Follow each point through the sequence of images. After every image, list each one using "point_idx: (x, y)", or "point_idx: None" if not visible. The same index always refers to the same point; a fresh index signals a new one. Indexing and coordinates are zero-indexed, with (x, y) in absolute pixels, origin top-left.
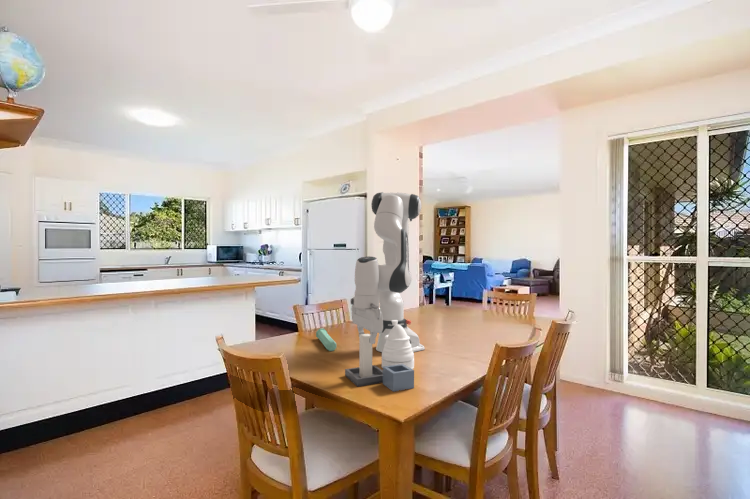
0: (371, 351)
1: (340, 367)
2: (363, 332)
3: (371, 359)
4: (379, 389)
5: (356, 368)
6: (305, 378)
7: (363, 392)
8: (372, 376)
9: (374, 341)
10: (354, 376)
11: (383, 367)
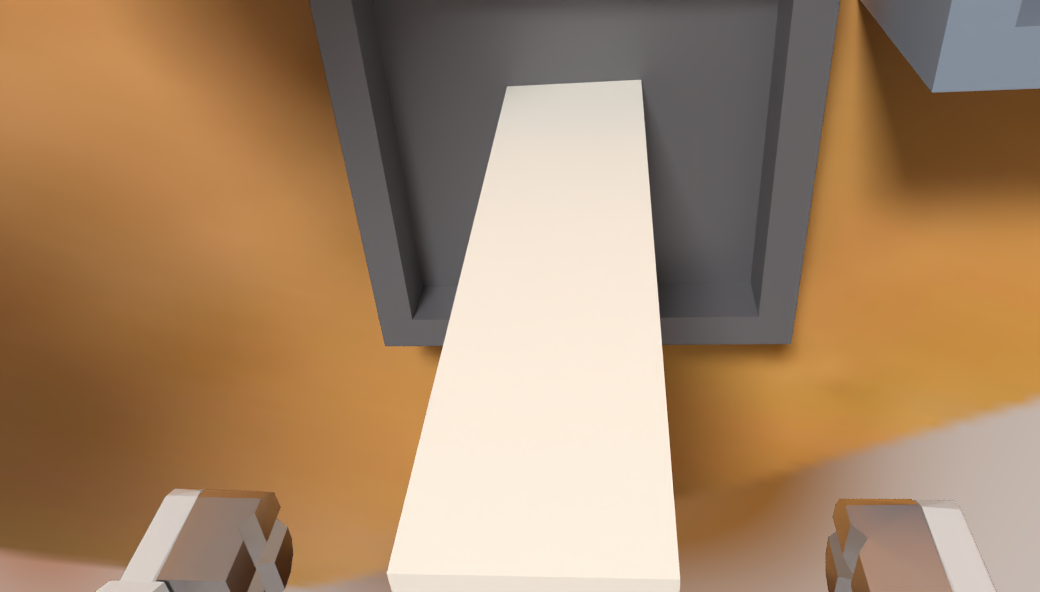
0: (658, 308)
1: (92, 255)
2: (171, 585)
3: (649, 219)
4: (1001, 112)
5: (394, 230)
6: (375, 560)
7: (960, 293)
8: (791, 160)
9: (963, 547)
10: (680, 340)
11: (958, 88)
